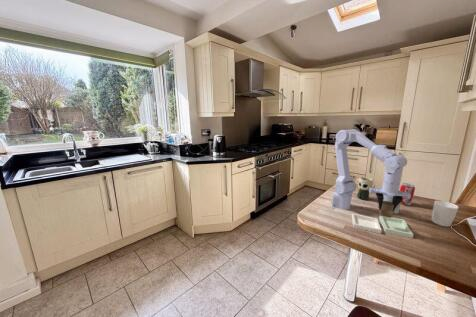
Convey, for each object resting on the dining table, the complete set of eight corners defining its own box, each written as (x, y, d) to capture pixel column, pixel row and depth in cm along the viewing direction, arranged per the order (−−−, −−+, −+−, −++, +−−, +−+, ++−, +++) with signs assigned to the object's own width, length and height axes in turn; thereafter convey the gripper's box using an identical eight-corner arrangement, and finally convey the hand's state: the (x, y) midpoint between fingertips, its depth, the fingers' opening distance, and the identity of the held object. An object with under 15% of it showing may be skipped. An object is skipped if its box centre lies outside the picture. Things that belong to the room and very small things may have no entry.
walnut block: (380, 215, 88) (382, 203, 86) (378, 211, 91) (380, 200, 90) (391, 217, 86) (393, 205, 84) (389, 213, 89) (391, 201, 88)
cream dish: (353, 228, 90) (353, 224, 89) (351, 217, 99) (352, 213, 98) (380, 235, 85) (381, 230, 84) (376, 222, 94) (376, 218, 94)
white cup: (445, 219, 96) (451, 201, 94) (457, 228, 89) (463, 209, 87) (426, 217, 99) (430, 199, 96) (435, 225, 92) (441, 206, 89)
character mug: (350, 196, 123) (353, 177, 120) (357, 193, 126) (360, 175, 123) (368, 203, 114) (372, 182, 111) (375, 200, 117) (379, 180, 114)
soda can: (413, 204, 111) (418, 185, 108) (407, 207, 109) (411, 187, 106) (401, 200, 117) (405, 182, 114) (394, 202, 115) (398, 183, 112)
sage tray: (384, 233, 86) (385, 228, 85) (379, 219, 97) (379, 215, 96) (412, 239, 82) (413, 234, 81) (402, 224, 93) (404, 219, 92)
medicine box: (398, 215, 101) (401, 200, 99) (388, 214, 102) (391, 199, 100) (389, 207, 108) (392, 193, 106) (380, 207, 109) (383, 193, 107)
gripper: (373, 182, 84) (368, 210, 88) (415, 187, 78) (408, 217, 81) (370, 177, 90) (366, 203, 94) (410, 182, 84) (403, 209, 87)
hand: (385, 209), depth 88 cm, fingers closed on walnut block, 4 cm apart
